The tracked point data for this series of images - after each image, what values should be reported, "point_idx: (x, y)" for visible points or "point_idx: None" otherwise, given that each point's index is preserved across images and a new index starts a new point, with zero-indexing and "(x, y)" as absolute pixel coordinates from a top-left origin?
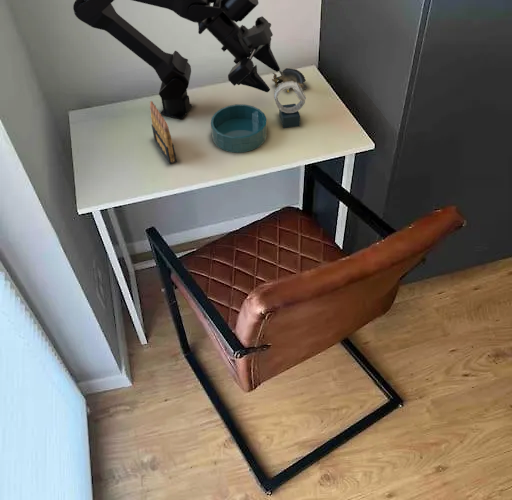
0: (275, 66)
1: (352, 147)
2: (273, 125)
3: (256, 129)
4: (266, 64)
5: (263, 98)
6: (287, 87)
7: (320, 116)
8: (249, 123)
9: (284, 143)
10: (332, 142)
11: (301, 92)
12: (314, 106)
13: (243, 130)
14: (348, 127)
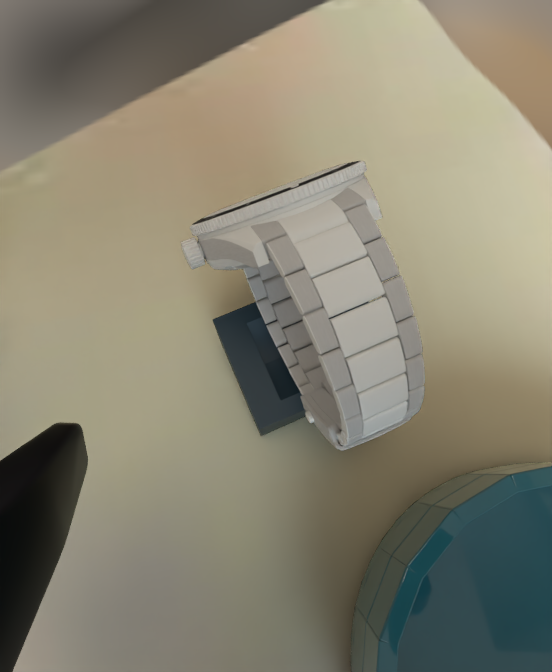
0: (51, 488)
1: (438, 27)
2: (370, 449)
3: (468, 549)
4: (7, 662)
5: (79, 597)
6: (396, 268)
7: (220, 199)
8: (419, 620)
9: (518, 344)
10: (428, 112)
11: (357, 161)
12: (129, 246)
13: (507, 643)
14: (287, 60)
